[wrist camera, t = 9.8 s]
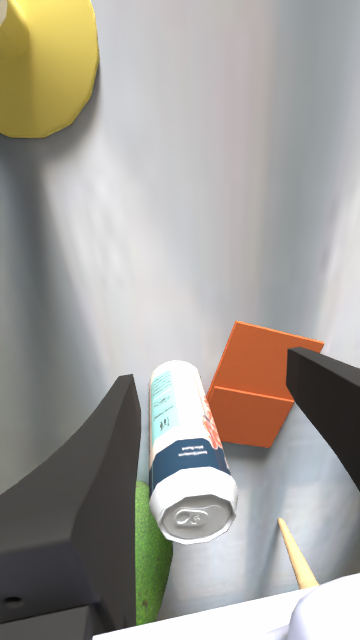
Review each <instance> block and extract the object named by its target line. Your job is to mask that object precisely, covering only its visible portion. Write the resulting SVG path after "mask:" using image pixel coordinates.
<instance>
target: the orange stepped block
mask: <svg viewBox="0 0 360 640" xmlns="http://www.w3.org/2000/svg"><path fill="white" fill-rule="evenodd" d="M323 346H324V343H323V342H321V341H317V340H313V339H309V338H305V337H301V336H297V335H292V334H288V333H284V332H280V331H276V330H272V329H268V328H264V327H260V326H256V325H252V324H247V323H243V322H239V321H235V324H234V327H233V329H232V332H231V334H230V337H229V339H228V342H227V345H226V347H225V350H224V352H223V355H222V357H221V360H220V363H219V365H218V368H217V370H216V373H215V375H214V378H213V381H212V383H211V386H210V388H209V391H208V393H207V396H206V398H207V401H208V404H209V407H210V410H211V413H212V417H213V420H214V423H215V426H216V429H217V432H218V435H219V438H220V441H223V442H230V443H238V444H245V445H252V446H260V447H267V448H270V447H271V445H272V443H273V441H274V439H275V438H276V436H277V434H278V432H279V430H280V428H281V426H282V424H283V423H284V421H285V419H286V417H287V415H288V413H289V411H290V409H291V408H292V406H293V404H294V399H293V397H292V395H291V394H290V392H289V390H288V388H287V386H286V369H287V349H289V348H295V347H303V348H306V349H309V350H312V351H315V352H317V353H320V351H321V350H322V348H323Z"/></svg>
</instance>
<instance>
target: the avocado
mask: <svg viewBox="0 0 360 640" xmlns="http://www.w3.org/2000/svg"><path fill="white" fill-rule="evenodd" d="M172 556H173V544H172V541H170V540H167V539H166V538H165V537H164V535H163V533H162V532H161V530H160V528H159V527H158V524H157V521H156V520H155V518H154V516H153V515H152V513H151V511H150V505H149V485H147V484H146V483H144V482H143V481H136V492H135V574H136V623H137V626H140V625H144V624H149V623H153V622H155V620H156V617H157V614H158V612H159V609H160V606H161V602H162V599H163V595H164V592H165V588H166V584H167V580H168V575H169V571H170V566H171V561H172Z"/></svg>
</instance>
